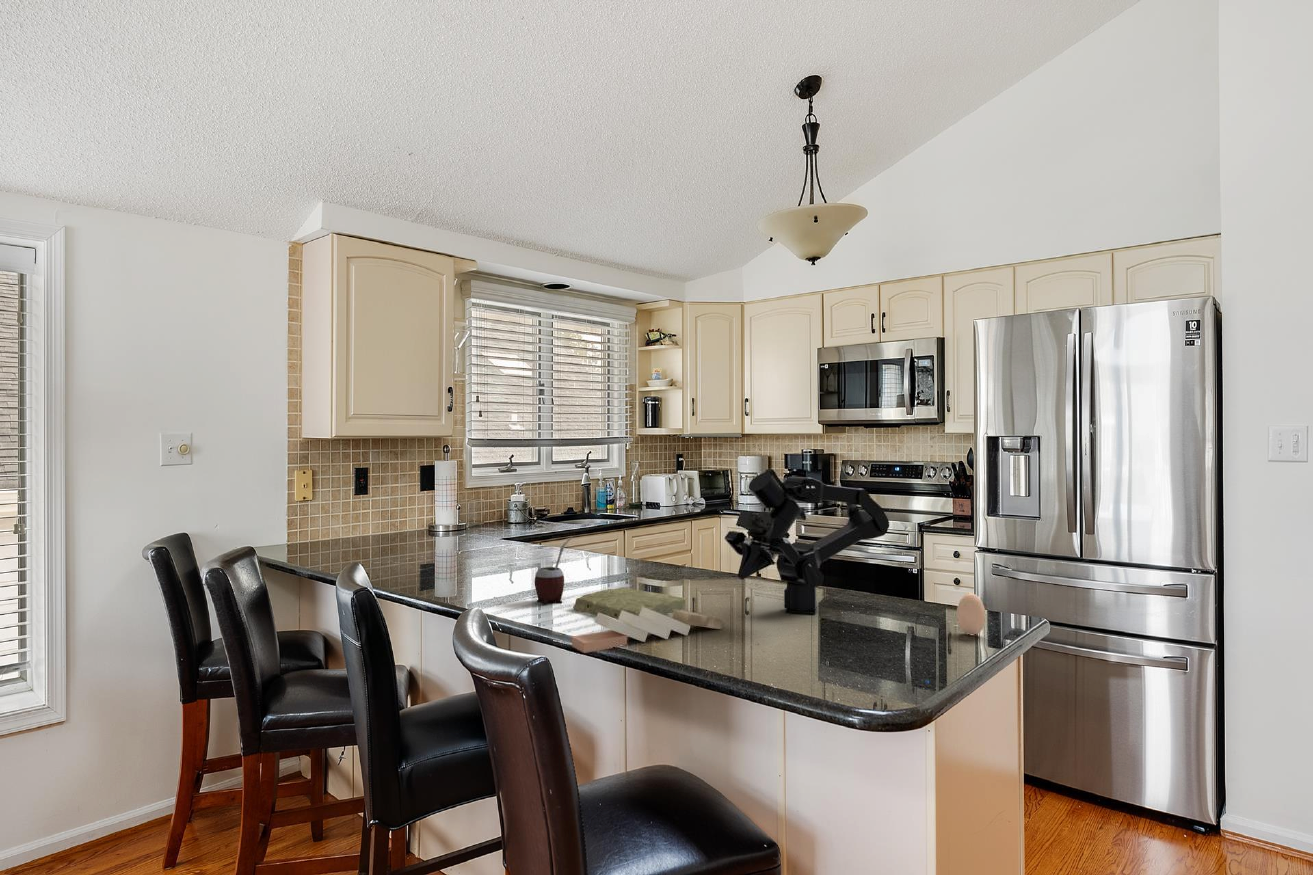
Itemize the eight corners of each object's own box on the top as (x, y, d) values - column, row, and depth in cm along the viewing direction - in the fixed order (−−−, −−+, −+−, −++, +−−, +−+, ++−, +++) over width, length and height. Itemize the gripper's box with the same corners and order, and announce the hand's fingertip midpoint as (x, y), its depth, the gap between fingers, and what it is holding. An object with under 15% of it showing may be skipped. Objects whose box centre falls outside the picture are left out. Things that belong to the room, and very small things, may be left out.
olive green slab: (620, 598, 178) (620, 584, 178) (687, 610, 165) (687, 594, 165) (566, 613, 163) (566, 597, 163) (635, 627, 151) (635, 610, 151)
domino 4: (676, 620, 146) (642, 606, 142) (690, 625, 142) (656, 611, 138) (672, 630, 146) (638, 616, 142) (687, 635, 142) (652, 621, 137)
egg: (983, 640, 138) (983, 597, 138) (954, 636, 141) (954, 594, 141) (987, 633, 143) (987, 592, 143) (959, 630, 146) (959, 589, 146)
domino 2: (635, 626, 142) (598, 612, 138) (648, 632, 138) (610, 617, 133) (631, 636, 141) (594, 622, 137) (644, 642, 137) (606, 628, 133)
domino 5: (708, 614, 151) (674, 609, 146) (723, 619, 147) (688, 614, 142) (706, 624, 151) (672, 619, 146) (721, 629, 147) (686, 624, 142)
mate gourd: (529, 604, 169) (529, 540, 169) (543, 597, 177) (543, 536, 177) (559, 606, 167) (559, 541, 167) (571, 599, 175) (571, 537, 175)
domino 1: (613, 629, 140) (571, 636, 135) (627, 635, 135) (584, 642, 131) (613, 640, 140) (571, 647, 135) (627, 646, 135) (584, 653, 130)
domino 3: (657, 623, 144) (621, 609, 140) (671, 629, 140) (635, 615, 135) (653, 633, 143) (617, 619, 139) (667, 639, 139) (631, 625, 135)
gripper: (730, 495, 163) (691, 548, 157) (788, 500, 148) (747, 560, 142) (757, 527, 168) (720, 580, 162) (816, 535, 152) (777, 594, 146)
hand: (739, 578), depth 153 cm, fingers closed
